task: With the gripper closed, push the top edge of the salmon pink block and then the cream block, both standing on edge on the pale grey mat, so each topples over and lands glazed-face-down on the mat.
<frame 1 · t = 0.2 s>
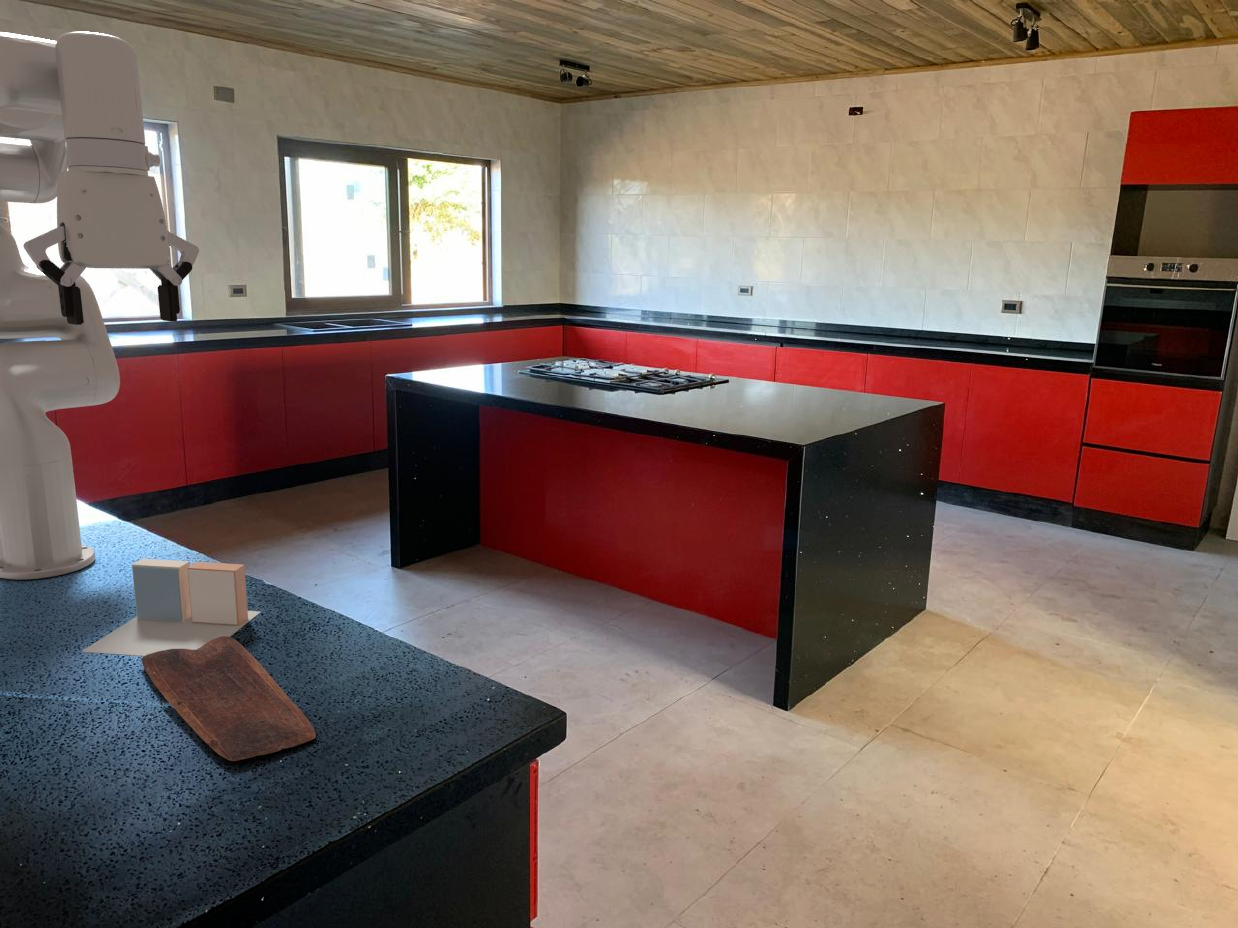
hand: (123, 322, 100), 37 cm above the counter, tool pointing down, fingers open, 9 cm apart
salmon pink block: (219, 620, 111), resting on grey mat
wooden tablet: (224, 701, 92), on the counter, touching grey mat
cream block: (165, 617, 111), resting on grey mat
grey mat: (176, 633, 108), on the counter
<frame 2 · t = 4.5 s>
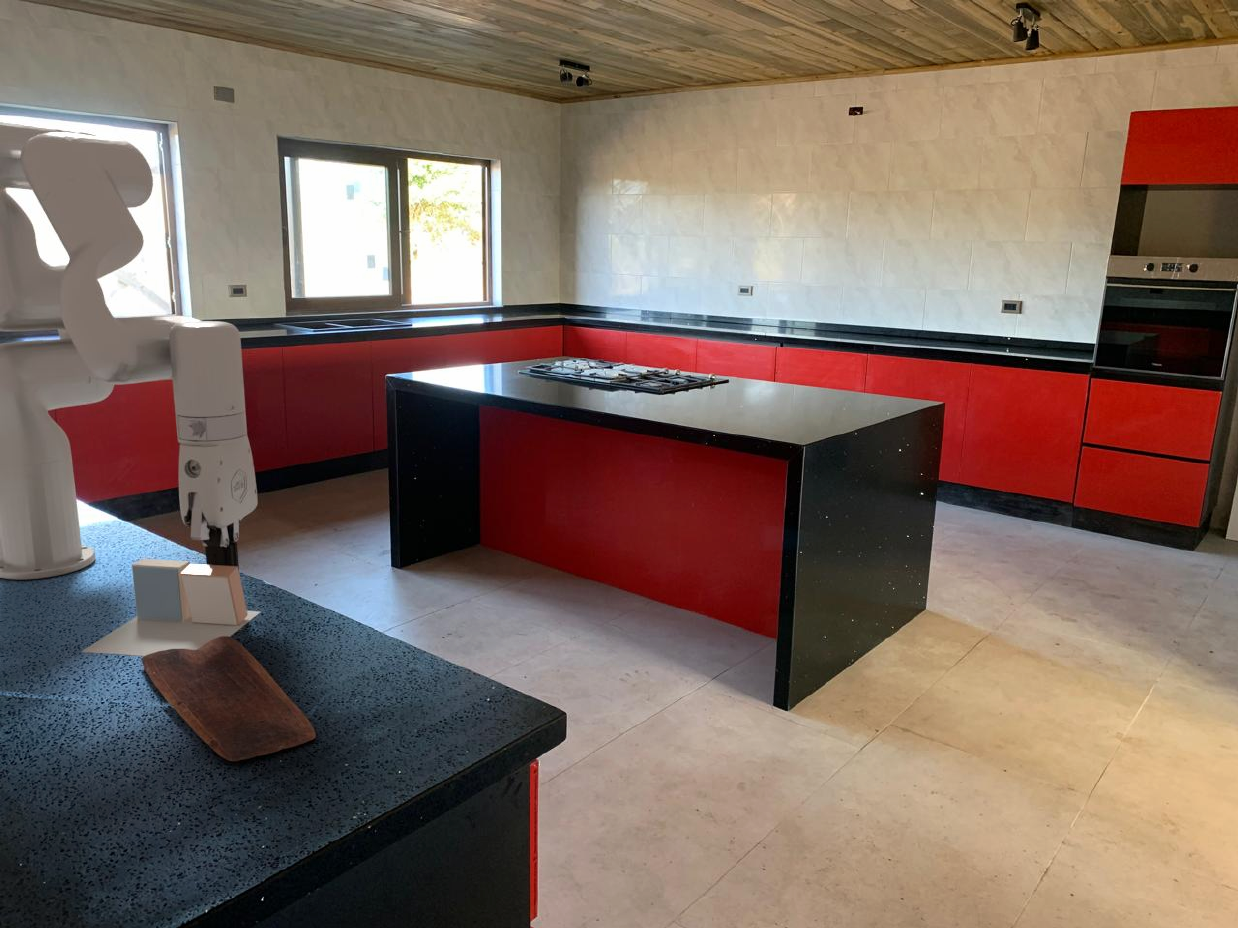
hand: (223, 574, 111), 6 cm above the counter, tool pointing down, fingers closed
salmon pink block: (219, 619, 110), point 1 cm above the counter, tilted 13°, touching grey mat
everything else where it was.
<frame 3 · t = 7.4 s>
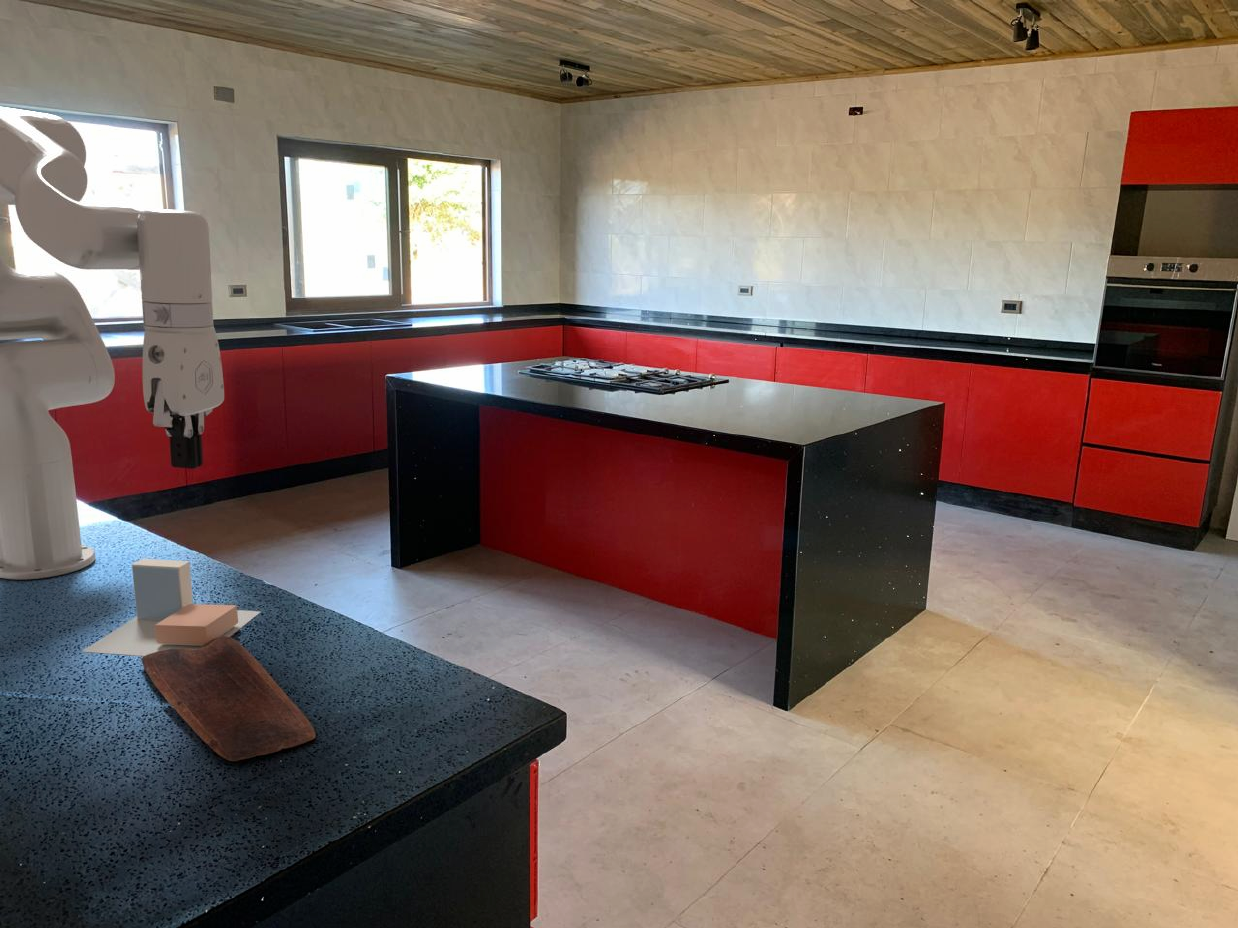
hand: (187, 466, 112), 18 cm above the counter, tool pointing down, fingers closed
salmon pink block: (213, 614, 109), point 2 cm above the counter, tilted 88°, touching grey mat, wooden tablet
wooden tablet: (224, 701, 92), on the counter, touching grey mat, salmon pink block
everything else where it was.
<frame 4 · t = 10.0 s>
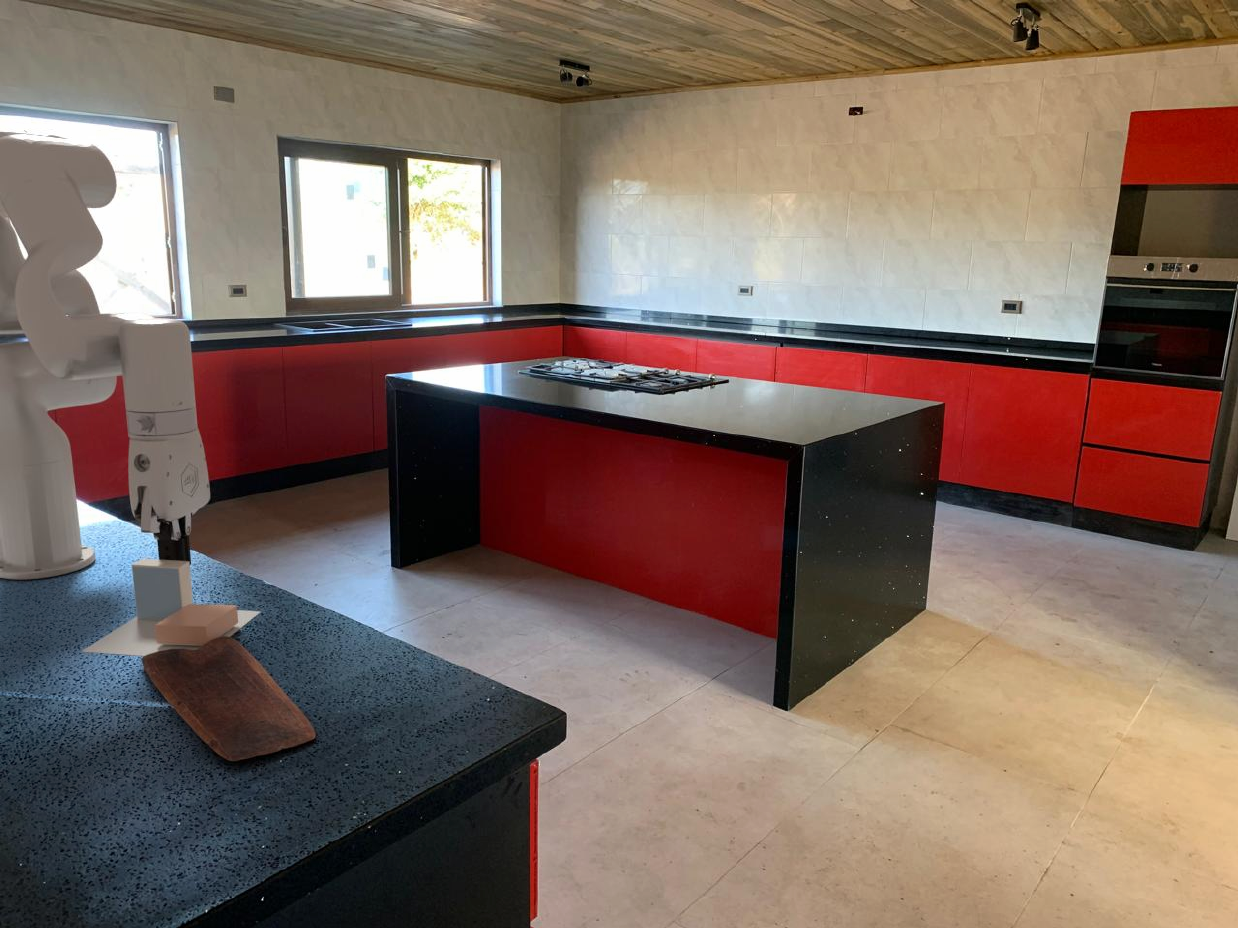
hand: (175, 567, 113), 6 cm above the counter, tool pointing down, fingers closed
cream block: (165, 617, 111), resting on grey mat, touching gripper
everything else where it was.
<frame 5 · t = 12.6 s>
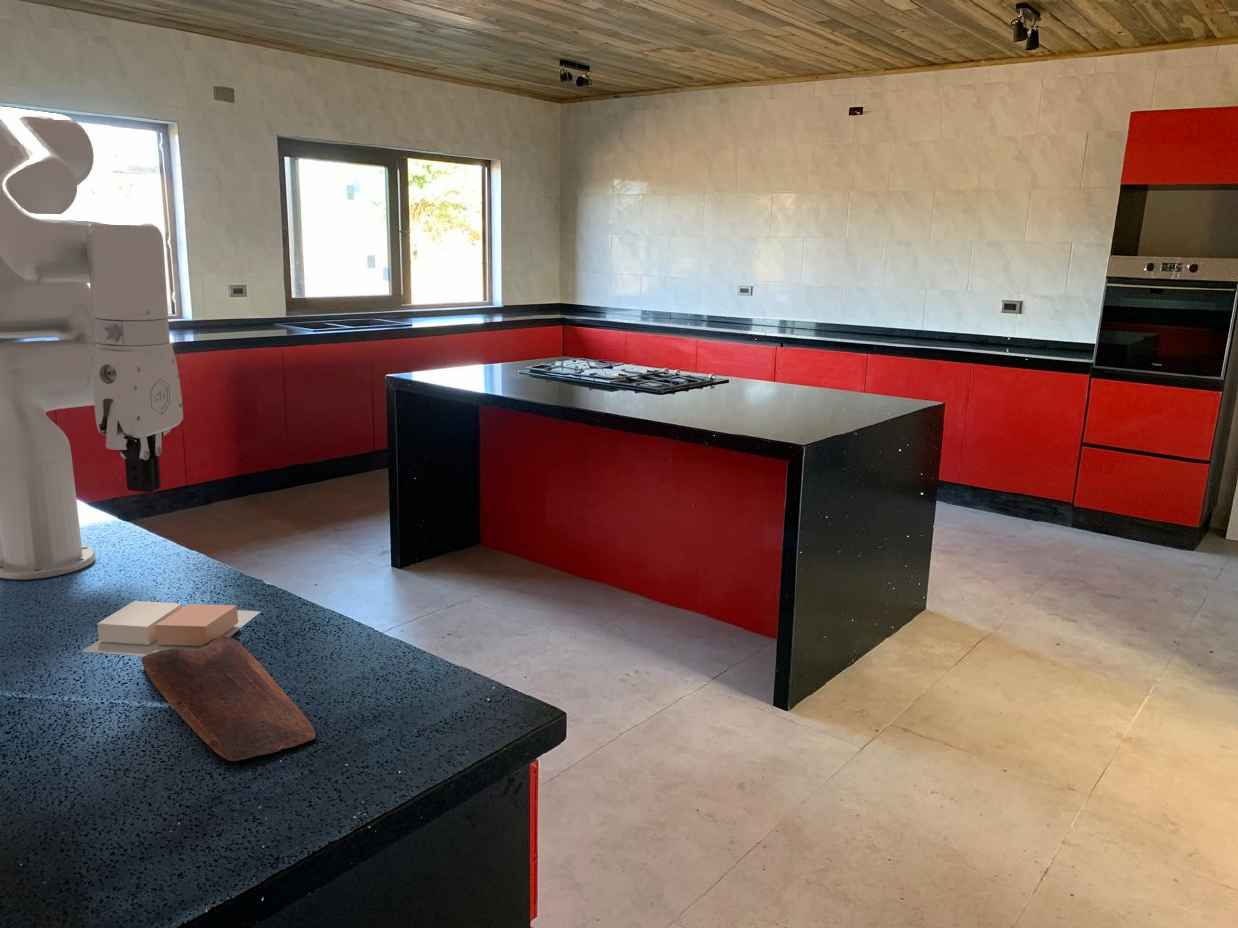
hand: (144, 489, 107), 17 cm above the counter, tool pointing down, fingers closed
cream block: (159, 611, 110), point 2 cm above the counter, tilted 90°, touching grey mat
everything else where it was.
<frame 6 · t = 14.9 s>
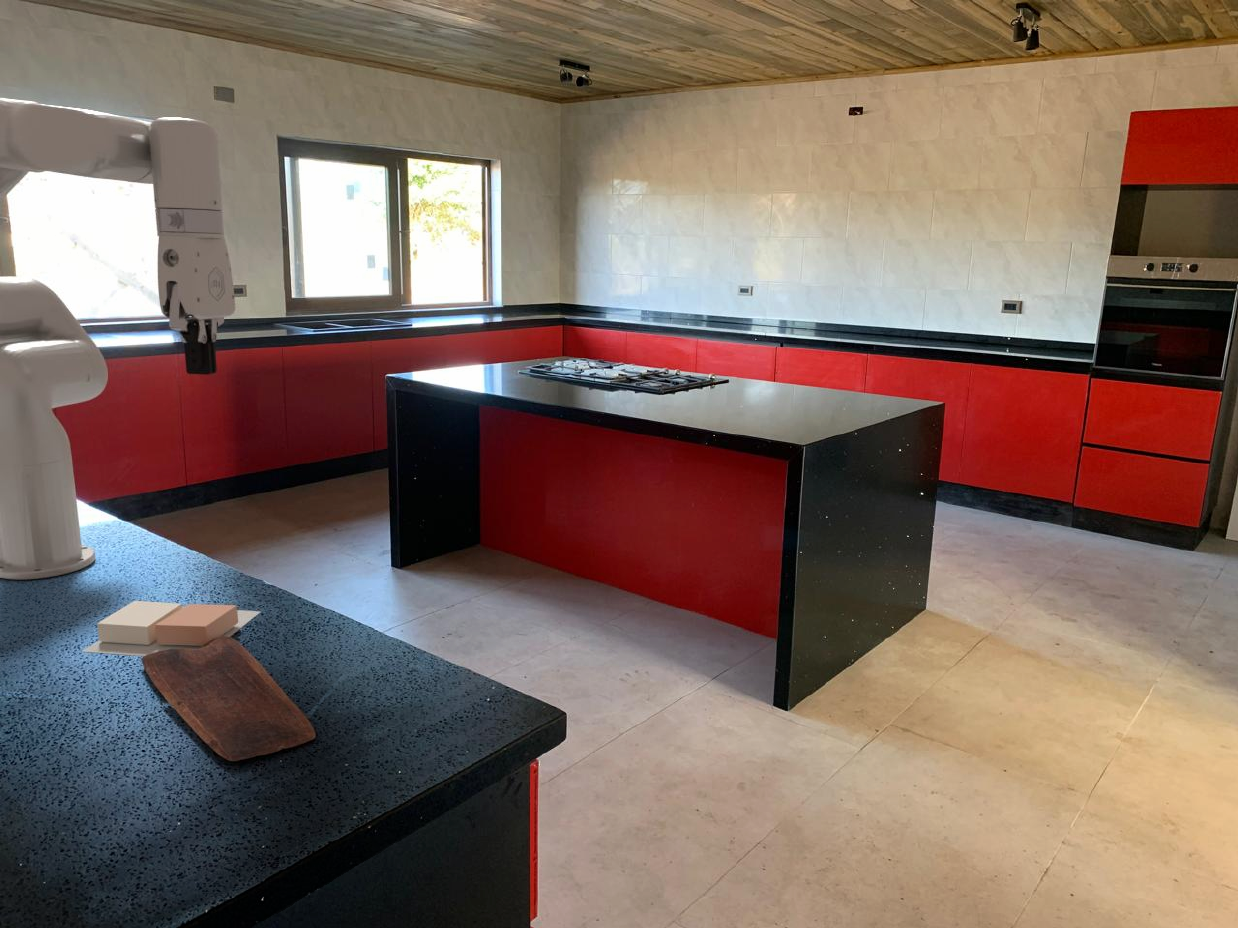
hand: (201, 373, 116), 29 cm above the counter, tool pointing down, fingers closed
nothing on the counter moved.
at the end: salmon pink block tilted 88°; cream block tilted 90°; salmon pink block inside the target area on the grey mat (4.2 cm from its centre), point 1.7 cm above the grey mat's base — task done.
